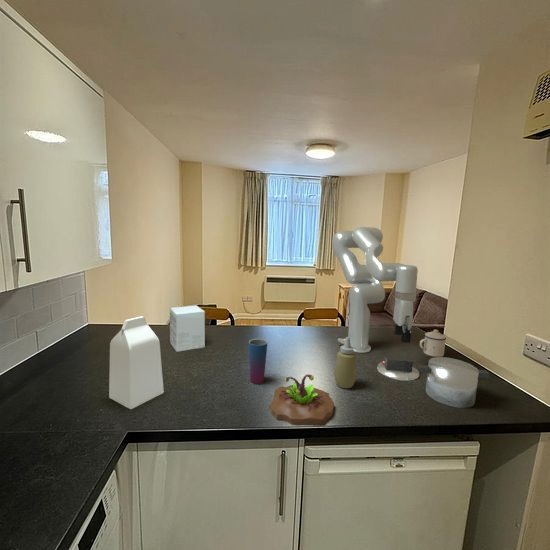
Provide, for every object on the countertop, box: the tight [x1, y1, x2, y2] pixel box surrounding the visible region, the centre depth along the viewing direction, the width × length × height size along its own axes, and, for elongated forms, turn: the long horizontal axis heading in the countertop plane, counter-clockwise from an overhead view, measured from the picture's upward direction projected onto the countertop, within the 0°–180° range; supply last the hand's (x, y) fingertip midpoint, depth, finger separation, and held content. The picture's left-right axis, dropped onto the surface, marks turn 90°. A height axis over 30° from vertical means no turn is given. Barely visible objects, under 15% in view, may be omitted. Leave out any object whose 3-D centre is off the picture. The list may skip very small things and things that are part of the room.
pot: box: [416, 356, 490, 409], centre depth 108 cm, size 23×15×11 cm, turn 83°
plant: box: [269, 374, 335, 426], centre depth 98 cm, size 20×20×11 cm
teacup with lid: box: [419, 329, 447, 358], centre depth 146 cm, size 12×9×12 cm
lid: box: [376, 356, 420, 381], centre depth 126 cm, size 16×16×6 cm
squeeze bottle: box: [333, 336, 357, 389], centre depth 112 cm, size 8×8×18 cm
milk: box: [108, 315, 165, 410], centre depth 100 cm, size 12×12×26 cm
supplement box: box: [169, 304, 206, 353], centre depth 146 cm, size 13×13×18 cm
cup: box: [248, 338, 269, 385], centre depth 113 cm, size 7×7×15 cm
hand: (402, 338), depth 124 cm, fingers open, 9 cm apart
